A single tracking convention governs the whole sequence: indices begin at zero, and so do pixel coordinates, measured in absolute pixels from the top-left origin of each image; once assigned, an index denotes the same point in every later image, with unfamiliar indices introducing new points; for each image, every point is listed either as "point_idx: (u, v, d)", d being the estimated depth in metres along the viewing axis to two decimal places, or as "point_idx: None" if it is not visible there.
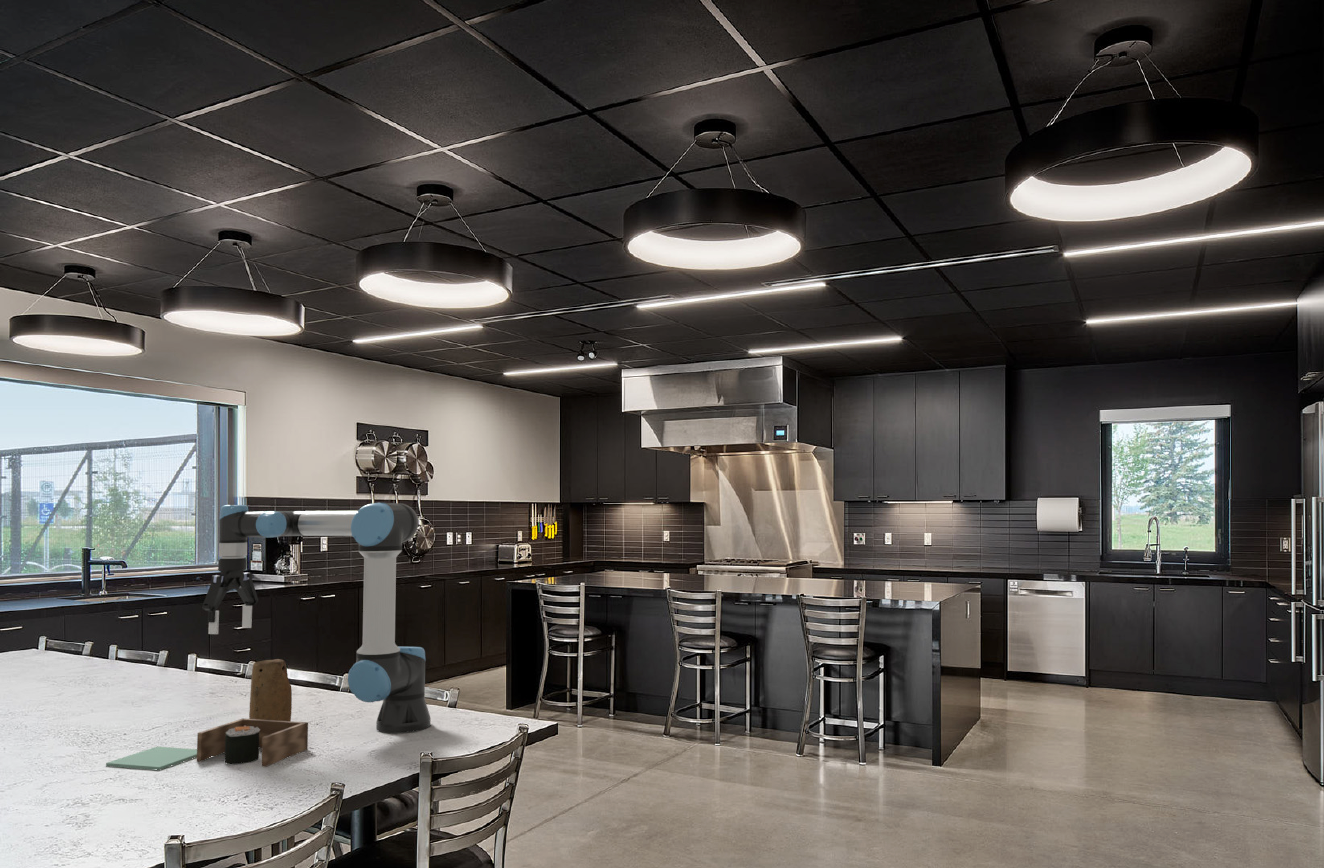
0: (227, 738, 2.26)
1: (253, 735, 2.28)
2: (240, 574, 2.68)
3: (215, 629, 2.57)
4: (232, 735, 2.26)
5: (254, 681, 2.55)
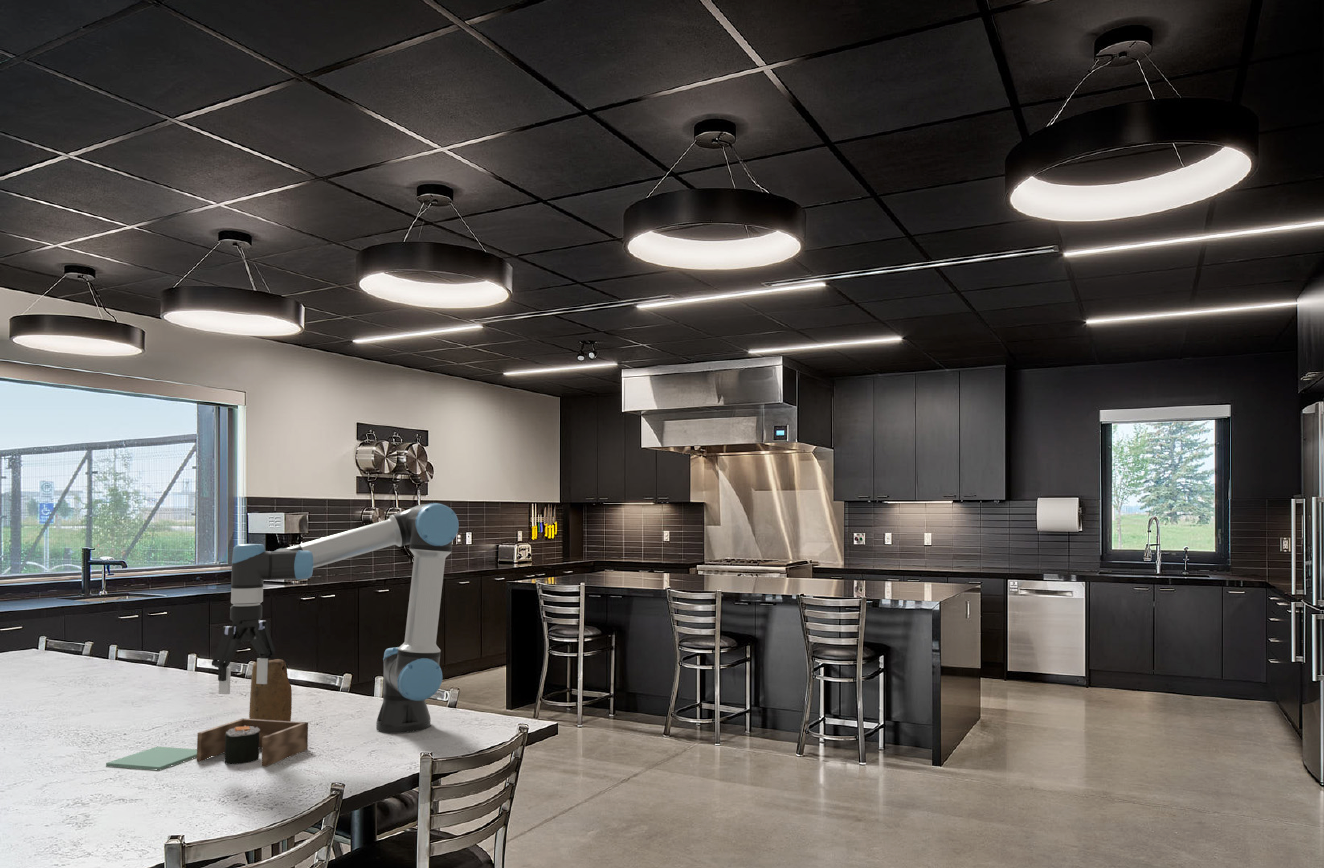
0: (227, 738, 2.26)
1: (253, 735, 2.28)
2: (255, 623, 2.34)
3: (226, 688, 2.24)
4: (232, 735, 2.26)
5: (254, 681, 2.55)
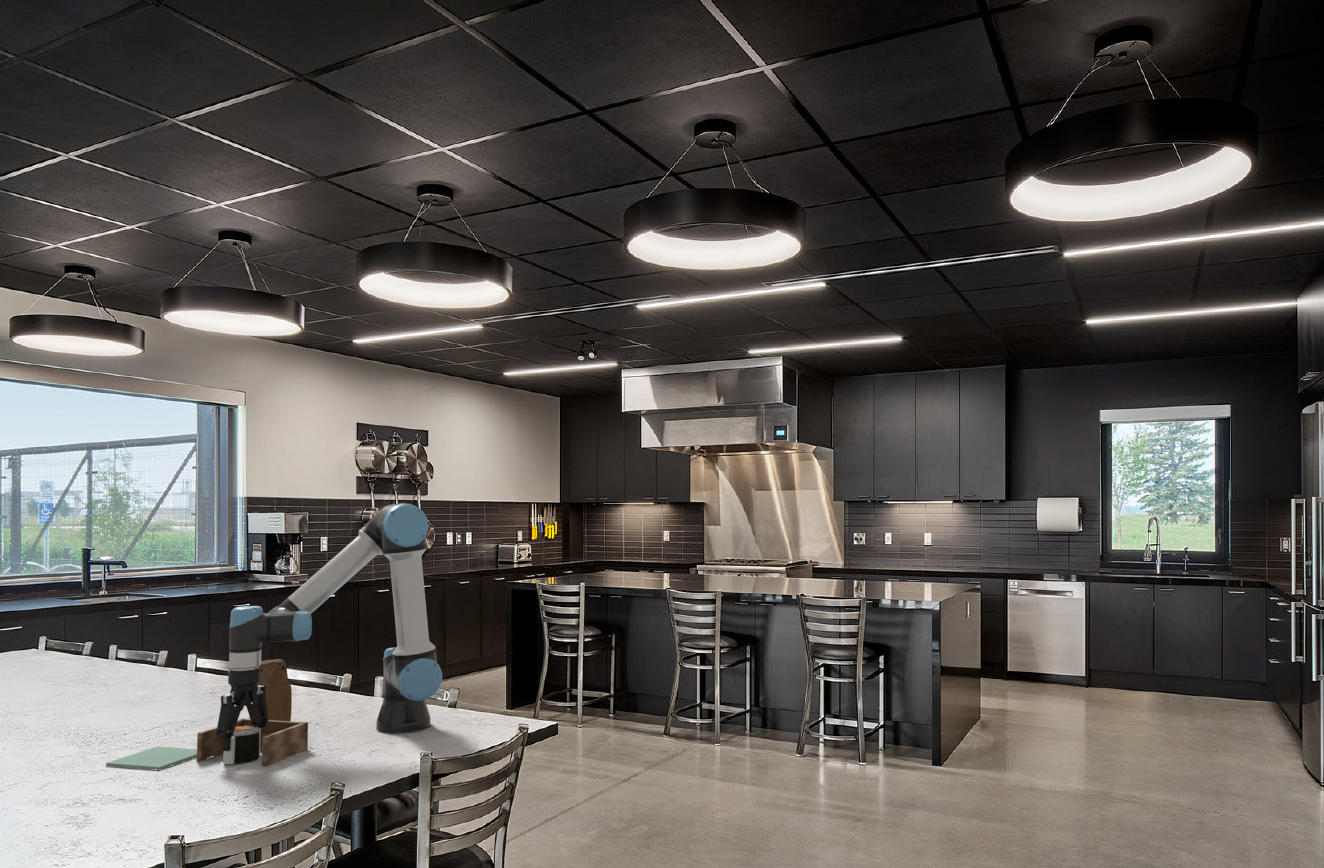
0: None
1: (253, 735, 2.28)
2: (254, 685, 2.33)
3: (231, 758, 2.25)
4: None
5: None
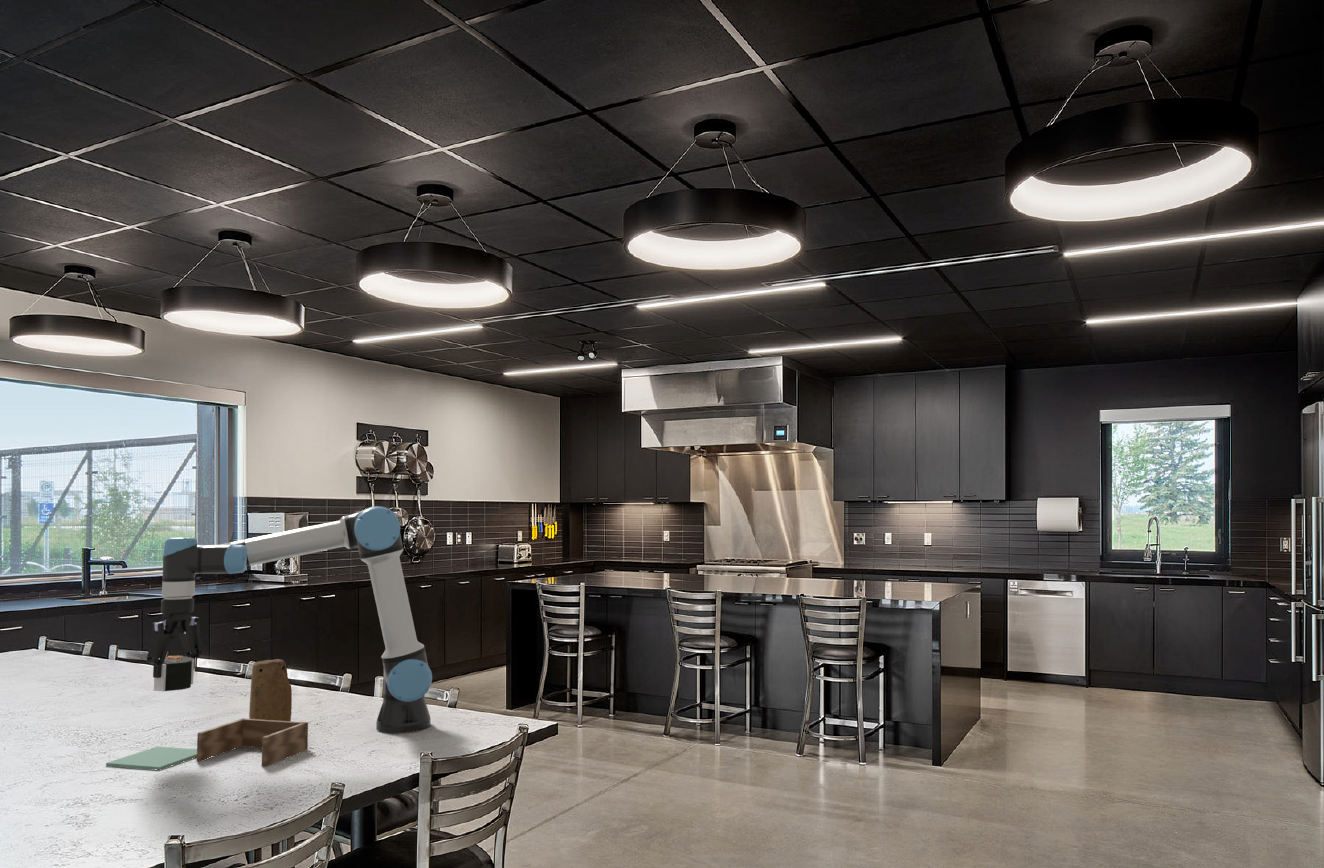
0: None
1: (185, 663, 2.30)
2: (187, 616, 2.35)
3: (161, 685, 2.26)
4: None
5: (254, 681, 2.55)
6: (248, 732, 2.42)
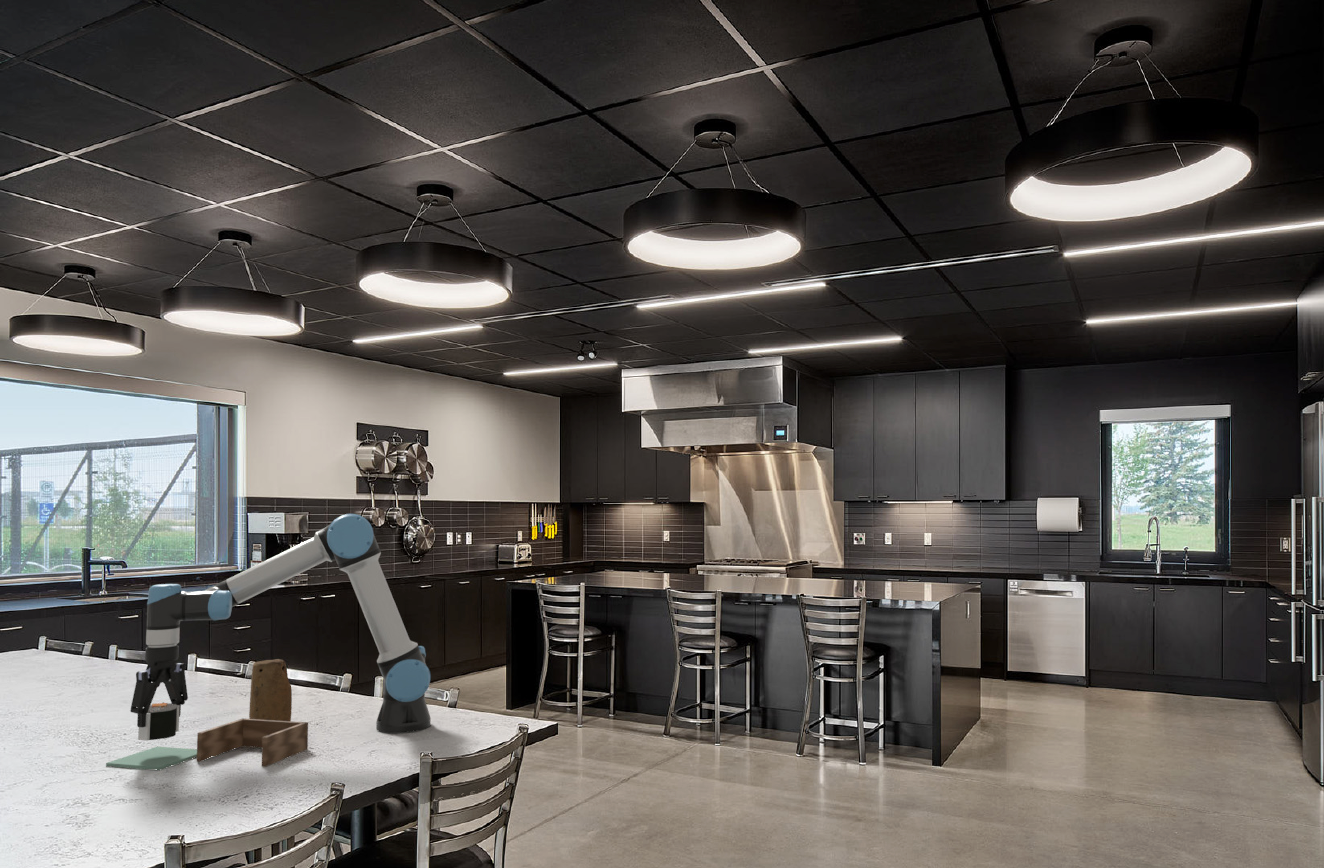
0: None
1: (169, 711, 2.29)
2: (172, 663, 2.34)
3: (146, 735, 2.26)
4: (148, 711, 2.27)
5: (254, 681, 2.55)
6: (248, 732, 2.42)
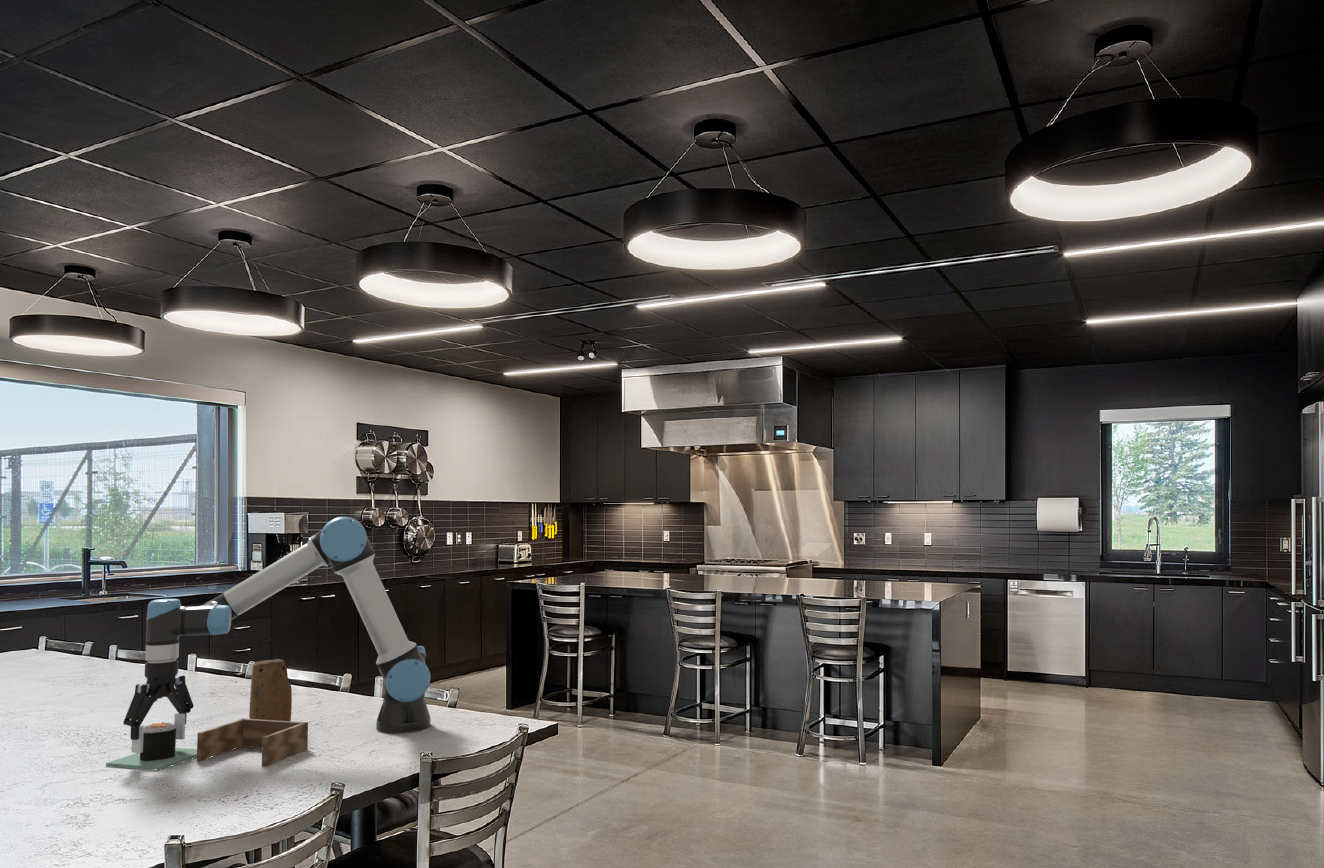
0: None
1: (169, 732, 2.29)
2: (171, 679, 2.34)
3: (139, 747, 2.23)
4: (147, 732, 2.27)
5: (254, 681, 2.55)
6: (248, 732, 2.42)
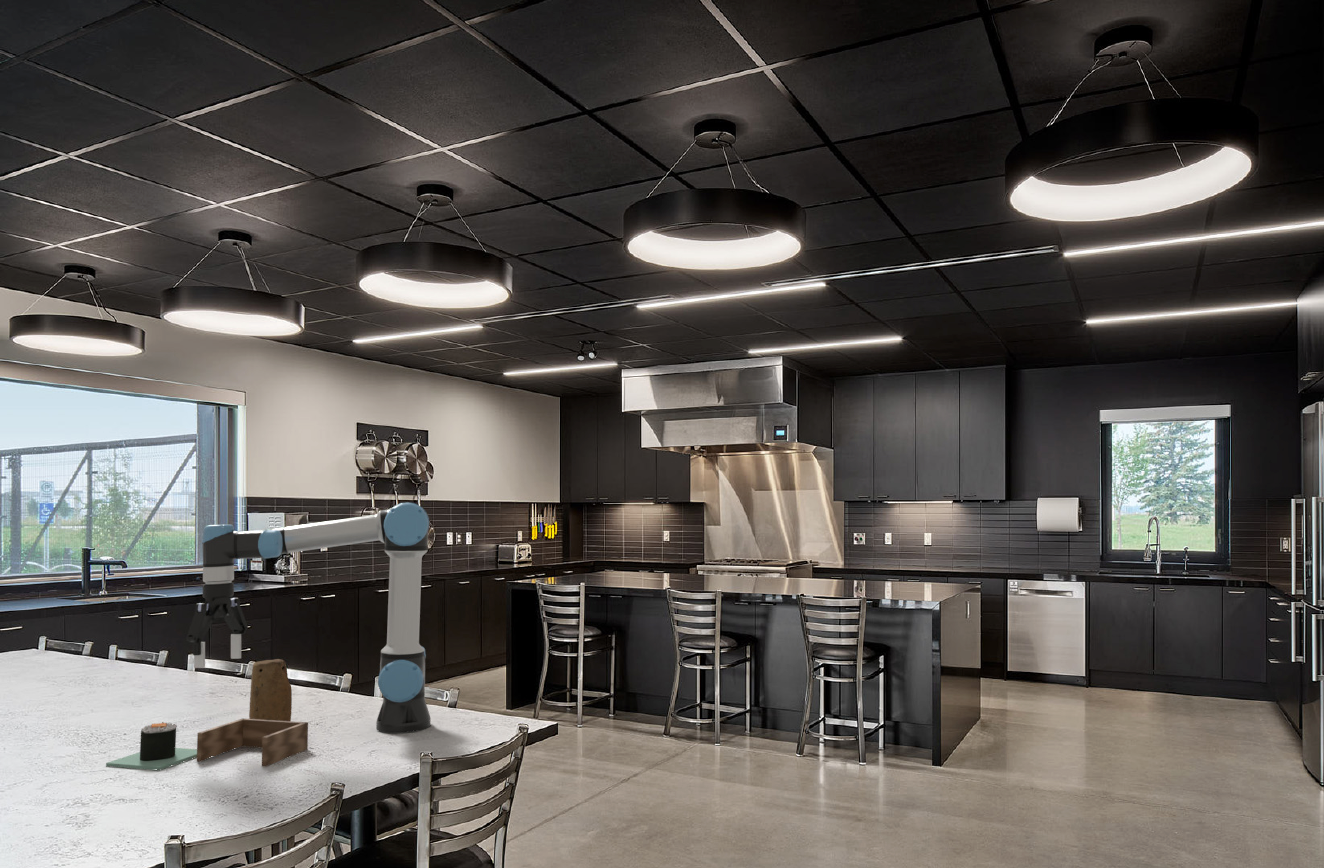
0: (142, 735, 2.27)
1: (169, 732, 2.29)
2: (227, 600, 2.44)
3: (201, 662, 2.34)
4: (147, 732, 2.27)
5: (254, 681, 2.55)
6: (248, 732, 2.42)
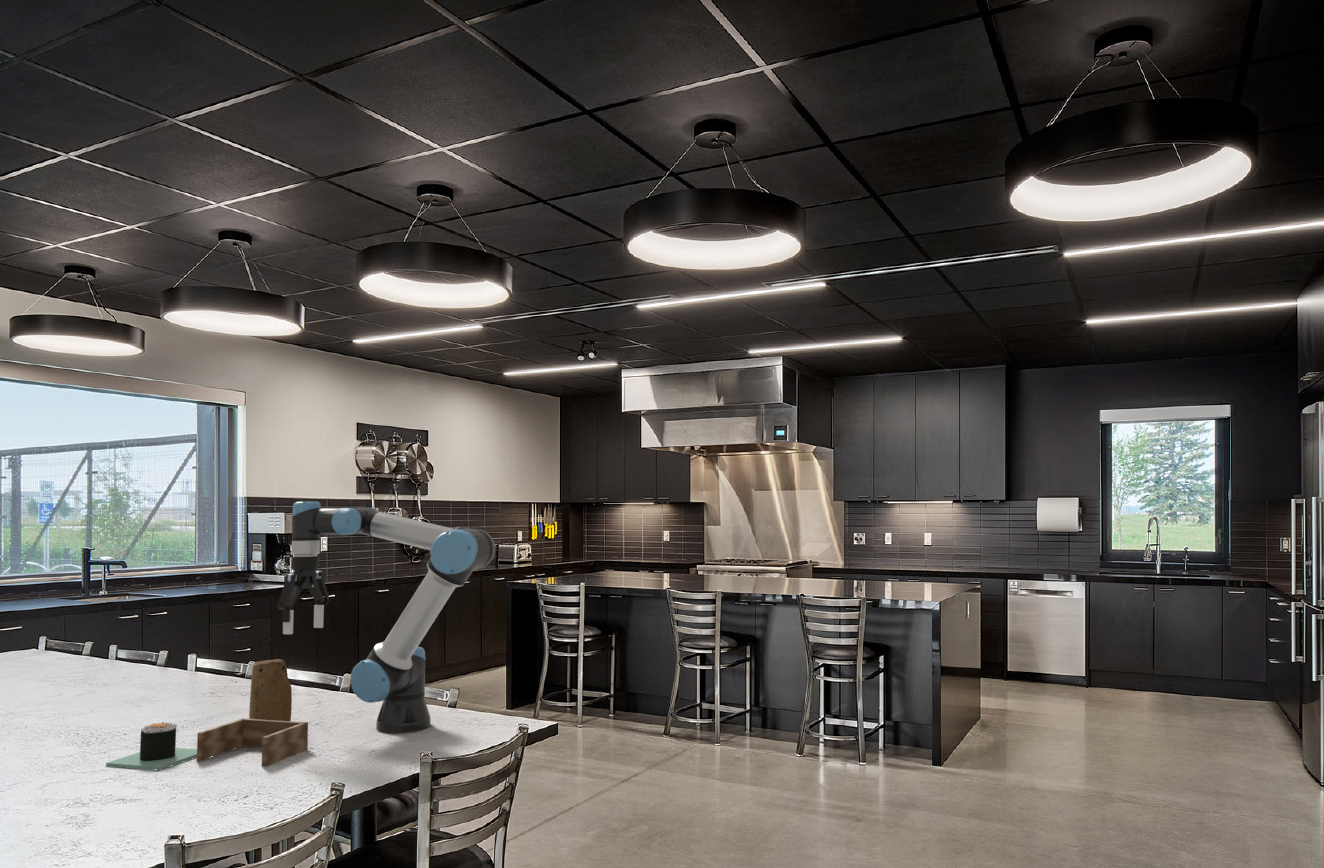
0: (142, 735, 2.27)
1: (168, 732, 2.29)
2: (313, 573, 2.61)
3: (290, 629, 2.50)
4: (147, 732, 2.27)
5: (254, 681, 2.55)
6: (248, 732, 2.42)
